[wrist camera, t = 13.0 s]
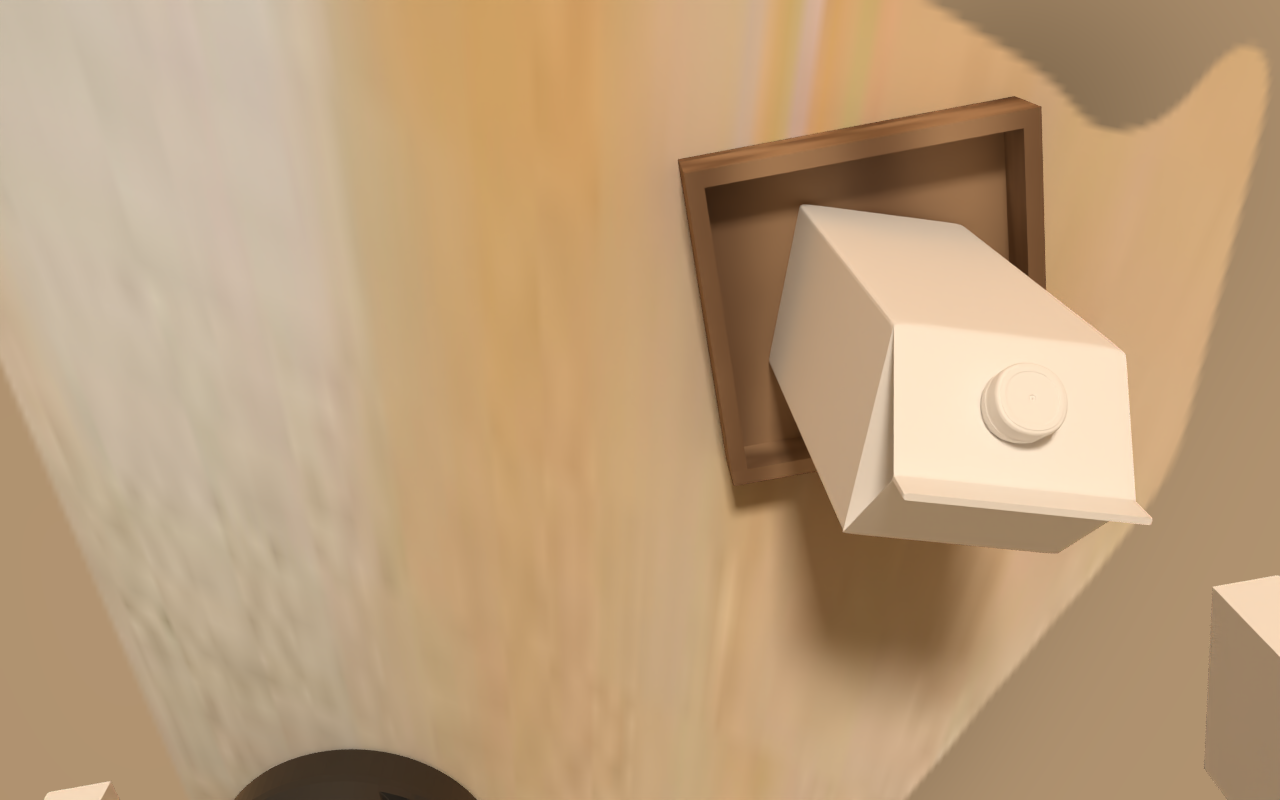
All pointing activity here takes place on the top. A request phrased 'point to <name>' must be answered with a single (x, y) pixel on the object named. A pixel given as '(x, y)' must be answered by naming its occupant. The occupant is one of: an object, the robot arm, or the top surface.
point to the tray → (855, 180)
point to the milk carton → (948, 388)
